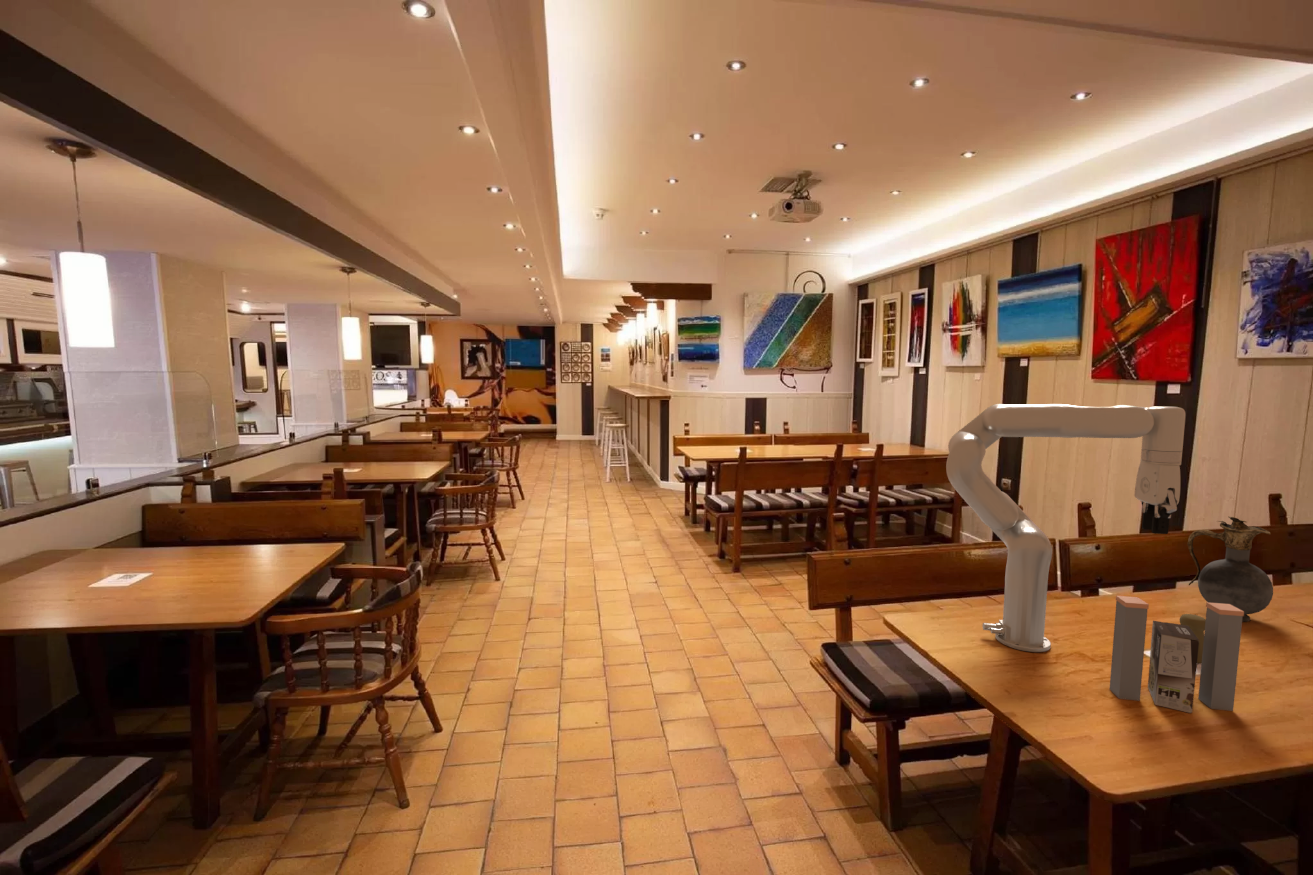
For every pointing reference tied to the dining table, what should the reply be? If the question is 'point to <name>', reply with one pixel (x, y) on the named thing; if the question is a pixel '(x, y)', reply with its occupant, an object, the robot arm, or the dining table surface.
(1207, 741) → the dining table surface
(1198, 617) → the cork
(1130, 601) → the post near base
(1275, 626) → the dining table surface
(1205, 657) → the post far
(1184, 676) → the coffee box
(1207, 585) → the pitcher
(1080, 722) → the dining table surface
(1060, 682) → the dining table surface
